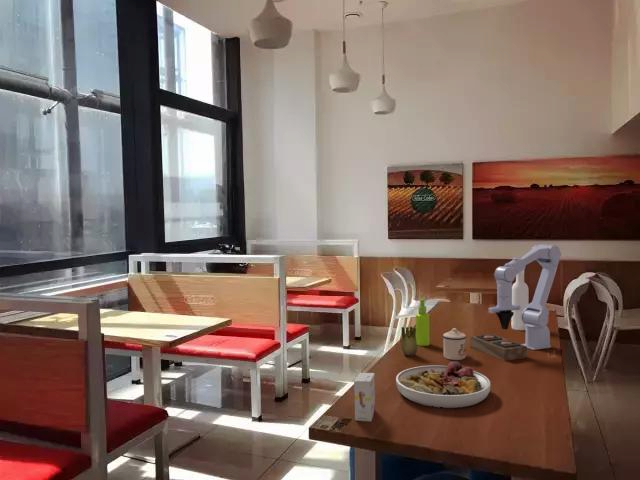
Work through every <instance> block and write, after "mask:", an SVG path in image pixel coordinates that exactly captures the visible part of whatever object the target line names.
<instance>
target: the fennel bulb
mask: <svg viewBox="0 0 640 480" xmlns="http://www.w3.org/2000/svg"><path fill="white" fill-rule="evenodd" d="M400 330H401V342H400V343H401V350H402V353H403V354H404V355H405V356H408V357H413V356H415V355H416V354H417V353H418V345H417V343H416V326H412V325H410V326H401V329H400Z"/></svg>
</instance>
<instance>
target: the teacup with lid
mask: <svg viewBox="0 0 640 480" xmlns="http://www.w3.org/2000/svg"><path fill="white" fill-rule="evenodd" d="M442 339H443V341H442V342H443V343H442V344H443V358H445V359H447V360H452V361H459V360H460V361H461V360H464V359H466V355H467V353H466V350H467V348H466V344H467V343H466V341H467V340H466V339H467V335H466V334H465V333H464V332H460V331H459V330H458V329H457V328H455V327H454V328H452V329H451V330H450V331H448V332H444V333H443V335H442Z"/></svg>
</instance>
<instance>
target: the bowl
mask: <svg viewBox="0 0 640 480" xmlns="http://www.w3.org/2000/svg"><path fill="white" fill-rule="evenodd" d="M491 383H492V382H491V380H490V379H489V378H488V377H487V376H486V375H484V374H482V373H480V372H478V371H475V370H473V369H472V367H470V366H465V367H464V366H462V364H461V363H460V362H459V360H452V361H451V362H449V363H448V364H447V365H421V366H420V365H419V366H415V367H410V368H407V369H404V370H401V371H400V372H398V374H397V375H396V377H395V385H396V387H397V389H398V391H399V392H400V394H401V395H402V396H403V397H405V398H406V399H408V400H409V401H412V402H414V403H417V404H420V405H423V406H427V407H432V406H433V408H440V407H443V408H442V409H444V408H445V409H455V408H456V409H457V408H458V407H459V408H465V407H470V406H473V405H474V406H475V405H476V404H479V403H481V402H482V401H483V400H485V399H486V398H487V397H488V396H489V393H490V391H491V386H492V385H491Z"/></svg>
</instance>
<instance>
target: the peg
mask: <svg viewBox="0 0 640 480" xmlns="http://www.w3.org/2000/svg"><path fill="white" fill-rule="evenodd" d="M501 344H503V345H512V343H511V342H501Z"/></svg>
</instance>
